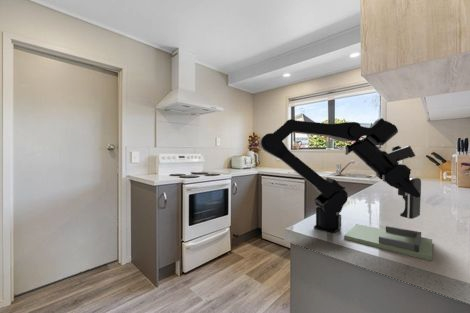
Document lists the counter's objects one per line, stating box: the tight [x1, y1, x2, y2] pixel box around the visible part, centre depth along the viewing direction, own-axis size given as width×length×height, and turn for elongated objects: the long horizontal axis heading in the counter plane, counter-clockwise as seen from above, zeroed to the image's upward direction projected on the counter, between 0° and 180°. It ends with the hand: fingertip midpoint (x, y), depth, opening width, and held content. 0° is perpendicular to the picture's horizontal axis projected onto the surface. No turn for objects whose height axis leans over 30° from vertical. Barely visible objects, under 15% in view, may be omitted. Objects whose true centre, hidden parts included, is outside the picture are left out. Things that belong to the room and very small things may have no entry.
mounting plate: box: [343, 223, 433, 262], centre depth 58 cm, size 18×13×2 cm
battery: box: [397, 177, 422, 220], centre depth 62 cm, size 7×4×11 cm, turn 124°
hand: (415, 194), depth 61 cm, fingers closed on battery, 7 cm apart
